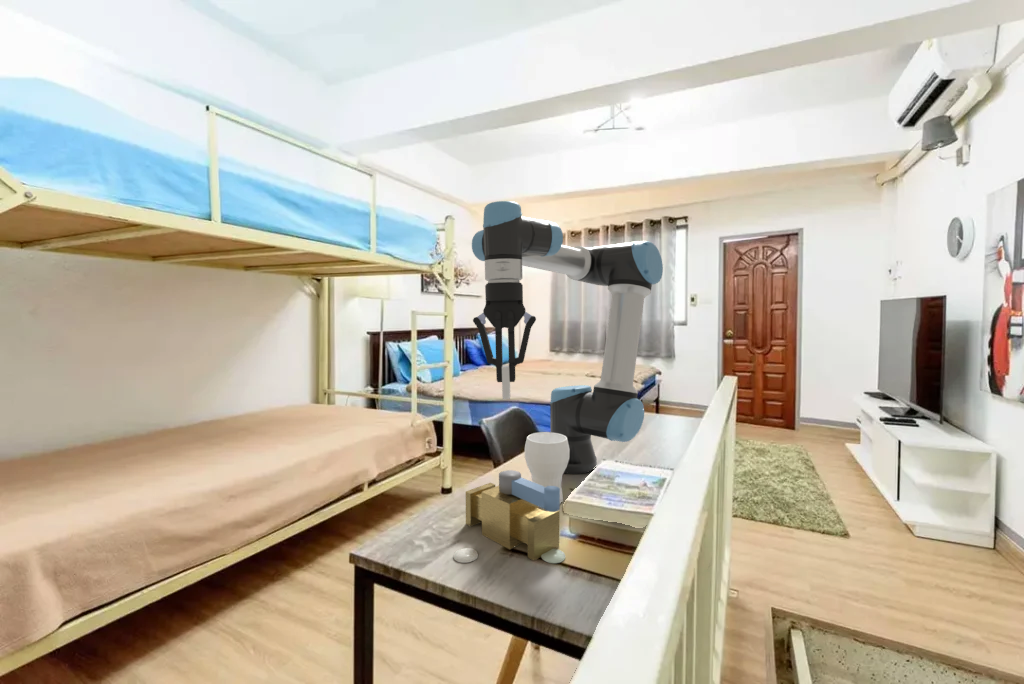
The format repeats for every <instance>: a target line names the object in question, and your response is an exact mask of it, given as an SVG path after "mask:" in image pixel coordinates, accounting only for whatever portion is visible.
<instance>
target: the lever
mask: <svg viewBox="0 0 1024 684" xmlns="http://www.w3.org/2000/svg"><path fill="white" fill-rule="evenodd" d="M498 486H499V491H500V492H501V493H503V494H512V495H514V496H517V497H519V498H521V499H523V500H525V501H528V502H530V503H532V504H534V505H537V506H538V508H541V509H542V510H544V511H549V512H556V511H558V510H559V511H560V509H561V507H560V506H561V503H560V488H559V487H556V486H547V487H544V486H542V485H539V484H537V483H534V482H532V480H529V479H526V478H523V477H522V473H521V472H520V471H517V470H513V469H509V470H507V469H506V470H503V471H501V472H498Z"/></svg>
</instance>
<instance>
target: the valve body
mask: <svg viewBox="0 0 1024 684" xmlns="http://www.w3.org/2000/svg"><path fill="white" fill-rule="evenodd" d="M480 523H481V535H482V536H484V537H486V538H488V539H489V540H491V541H493V542H495V543H496V544H499V545H500V546H502V547H504V548H506V549H507V550H512V549H514V548H515V547H514V546H516V547H518V546H520V545H522V544H523V543H524V544H526V545H527V558H528V559H530V560H532V561H534V562H535V561H536V560H538V559H539V558H541V555H542V554H544V553H546V552H548V551H549V550H551V549H558V548H559V547H560V509H559V510H558V511H556V512H549V511H546V510H544V509H542V508H541V509H540V507H539V506H537V505H534V504H532V503H530V502H528V501H525V500H523V499H521V498H519V497H517V496H514V495H512V494H503V493H501V492H500V491H499V485H496V484H495V483H492V482H487V483H486V484H482V485H480V486H478V487H475V488H471V489H468V490H466V491H465V525H467V526H469V527H473V526H475V525H478V524H480ZM519 544H520V545H519ZM517 545H518V546H517ZM513 547H514V548H513Z"/></svg>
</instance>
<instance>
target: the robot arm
mask: <svg viewBox="0 0 1024 684" xmlns="http://www.w3.org/2000/svg"><path fill="white" fill-rule="evenodd" d="M483 209H484V210H483V220H482V221H483V223H482V228H483V229H481V230H479V231H477V232H476V233H474V234H473V237H472V239H471V251H472V253H473V255H474V257H476V259H477V260H479V261H481V262H484V280H485V281H486V282H487V283H486V284H485V285H484V287H485V288H484V289H485V306H484V308H483V309H482V311H483V312H482V313H480V314H479V315H478V316H476V317H473V319H472V322H473V324H474V325H475V326H476V328H477V329H478V333H479V337H480V340H481V344H482V348H483V352H484V356H485V359H486V362H487V364H488V365H492V366H495V370H496V371H495V372H496V374H495V375H496V381H497V383H501V388H502V389H501V390H502V392H501V393H502V394H501V395H502V396H501V398H502V400H510V399H511V383H515V381H516V366H518V365H520V364H523V363H524V361H525V357H526V352H527V347H528V343H529V339H530V334H531V330H532V327H533V326H534V324H535V323H536V320H537V317H536V316H534V315H532V314H530V313H529V312H527V311H526V307H525V306H524V294H523V293H524V292H523V291H524V290H523V289H524V287H523V284H522V282H520V281H522V280H523V267H528V268H533V269H537V270H543V271H547V272H552V273H556V274H557V273H558V274H561V275H565V276H566V277H568V278H569V279H570V280H573V281H578V282H582V283H586V284H591V285H594V286H595V285H596V286H600V287H601V286H603V287H607V290H608V292H609V293H610V294H611V302H610V309H609V317H608V323H607V330H606V338H605V339H606V340H605V346H604V352H603V353H604V354H603V361H602V367H601V374H600V380H599V382H597V383H596V384H595V385H594V386H593V390H592V386H591V385H586V384H585V385H583V384H581V385H580V384H579V385H569V386H567V385H566V386H561V387H560V386H559V387H556V388H554V389H553V390H552V391H551V393H550V402H549V405H550V406H549V407H550V409H549V411H550V412H549V413H550V414H549V415H550V416H549V417H550V418H549V419H550V432H551V433H559V434H562V435H564V436H566V437H567V440H568V444H569V449H570V453H569V461H568V464H567V467H566V469H565V471H564V473H563V474H568V475H569V474H570V475H571V474H573V475H574V474H575V475H578V474H579V475H580V474H585V472H586V473H589V472H588V471H590V472H592V471H591V470H592V469H593V468H594V467H595V466H596V465H597V463H598V461H597V456H596V454H595V453H596V452H595V450H594V446H593V442H592V436H594V437H597V438H602V439H606V440H609V441H611V442H615V441H616V442H622V443H623V442H624V443H625V442H630V441H631V440H633V439H634V438H635V437H636V436H637V434H638V433H639V432H640V430H641V428H642V426H643V423H644V419H645V406H644V404H643V402H642V401H641V400H640V399H639V398H638V393H639V392H638V391H637V389H636V388H635V386H634V379H635V370H636V365H637V364H636V363H637V359H638V358H637V357H638V349H639V342H640V334H641V326H642V325H641V324H642V319H643V313H644V312H643V311H644V303H645V298H646V297H647V296H649V295H650V294H651V293H652V286H653V285H656V284H658V283H659V282H660V281H661V279H662V276H663V271H664V269H663V268H664V267H663V265H664V264H663V259H662V255H661V253H660V250H659V249H658V247H657V246H656V245H655V243H653V242H651V241H648V240H640V241H639V240H634V241H631V242H622V243H616V244H614V243H613V244H606V245H599V246H593V247H592V246H590V247H585V246H582V245H576V246H574V247H571V246H568V245H564V243H563V242H564V236H563V235H564V233H563V231H562V228H561V227H560V226H559V224H557V223H556V222H553V221H550V220H547V219H538V218H537V219H536V218H533V217H532V218H531V217H526V216H523V212H522V207H521V205H520V203H518V202H515V201H510V200H509V201H508V200H499V201H493V202H489V203H486V205H485V207H483ZM522 318H524V319H523V322H524V324H525V326H524V329H523V335H522V339H521V343H520V348H519V353H518V356H517V357H516V345H515V344H516V342H515V340H516V339H515V338H516V337H515V327H517V326H518V324H519V323H520V321H521V320H522ZM486 319H487V320H488V322H489V323H490V324H491V326H492V327H494V333H495V335H494V336H495V357H494V354H493V350H492V348H491V343H490V338H489V336H488V333H487V332H488V331H487V329H486V326H485V324H487V323H486V322H487V321H486ZM504 328H506V329H507V337H508V339H507V340H508V342H507V343H508V346H507V347H508V365H503V364H504V363H503V360H504V359H503V329H504Z"/></svg>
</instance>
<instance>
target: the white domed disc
mask: <svg viewBox="0 0 1024 684" xmlns="http://www.w3.org/2000/svg"><path fill="white" fill-rule="evenodd" d="M478 558H479V554H478V551H477V550H476V549H473V548H469V547H465V548H460V549H458V550H456V551H455V552H454V553H453V559H454V561H455V562H458V563H461V564H467V563H472V562H474V561H476V560H477V559H478Z"/></svg>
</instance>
